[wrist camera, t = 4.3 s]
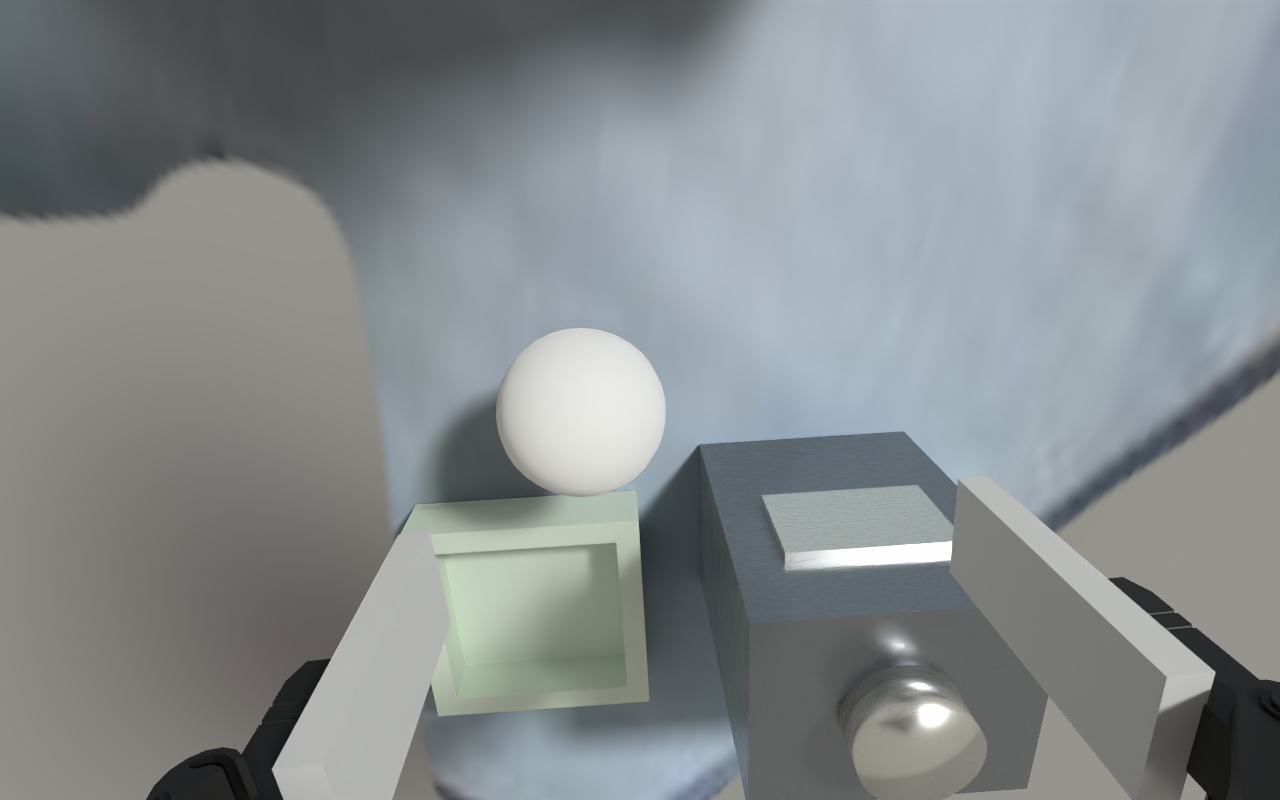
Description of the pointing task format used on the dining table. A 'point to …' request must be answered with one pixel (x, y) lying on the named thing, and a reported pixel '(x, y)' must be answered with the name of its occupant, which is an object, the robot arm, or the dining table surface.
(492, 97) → the dining table surface
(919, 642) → the housing
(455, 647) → the tray
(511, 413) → the light bulb
